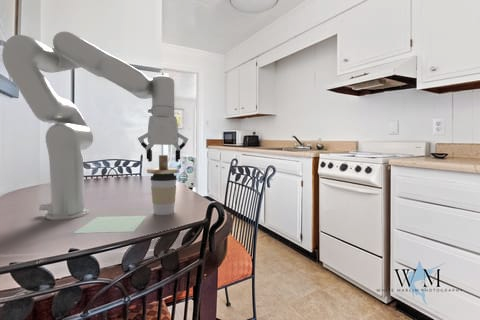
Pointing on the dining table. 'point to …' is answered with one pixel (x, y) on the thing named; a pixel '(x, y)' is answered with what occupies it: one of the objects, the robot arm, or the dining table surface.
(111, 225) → the mat
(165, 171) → the lid
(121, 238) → the dining table surface
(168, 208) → the coffee cup
